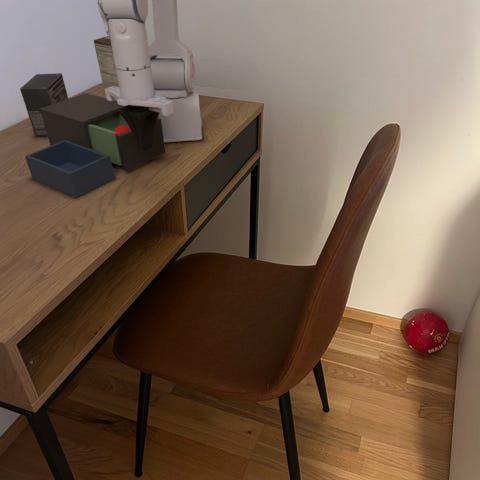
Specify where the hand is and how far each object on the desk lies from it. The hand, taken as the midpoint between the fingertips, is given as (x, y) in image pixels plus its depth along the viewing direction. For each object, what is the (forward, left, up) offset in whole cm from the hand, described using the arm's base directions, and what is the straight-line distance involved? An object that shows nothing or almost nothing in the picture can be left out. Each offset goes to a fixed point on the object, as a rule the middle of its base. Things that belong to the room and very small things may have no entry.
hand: (145, 148), depth 86 cm
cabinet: (+12, -18, -6) cm, 22 cm away
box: (+15, -3, -6) cm, 16 cm away
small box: (+22, -31, -6) cm, 38 cm away
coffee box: (+5, -40, -6) cm, 40 cm away
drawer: (+5, -10, -5) cm, 12 cm away
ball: (+5, -10, -2) cm, 11 cm away
